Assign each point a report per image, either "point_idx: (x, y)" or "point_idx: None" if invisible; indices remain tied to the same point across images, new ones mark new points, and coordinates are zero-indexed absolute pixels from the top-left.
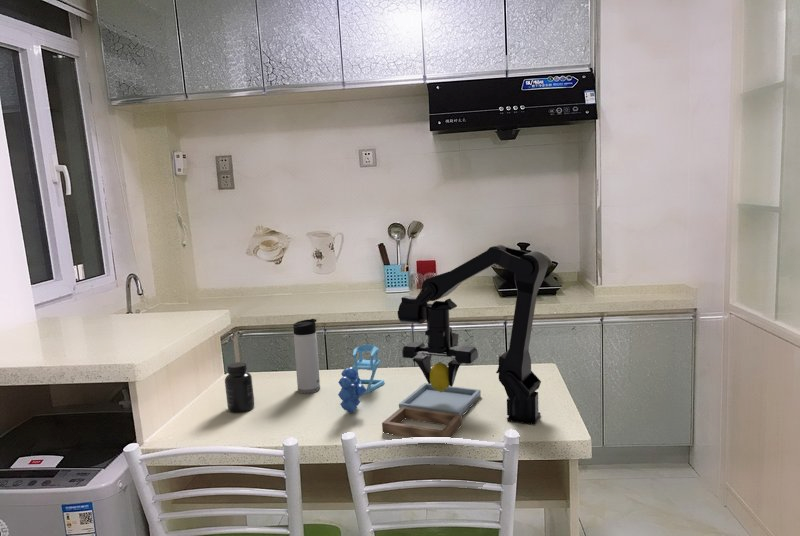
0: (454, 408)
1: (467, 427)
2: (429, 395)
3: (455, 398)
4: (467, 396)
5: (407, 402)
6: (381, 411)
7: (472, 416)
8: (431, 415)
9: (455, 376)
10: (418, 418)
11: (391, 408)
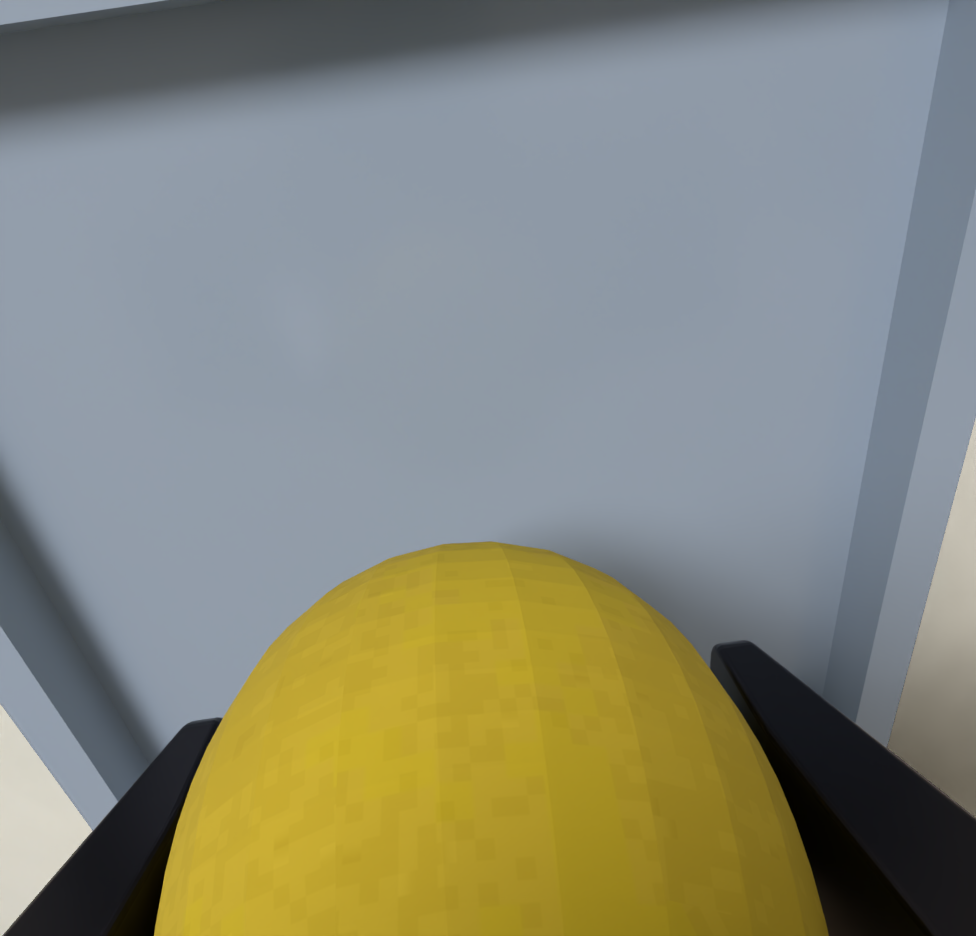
0: (731, 599)
1: (941, 776)
2: (131, 392)
3: (612, 302)
4: (792, 99)
5: (127, 762)
6: (30, 881)
7: (958, 601)
8: None
9: (939, 801)
10: None
11: (42, 810)
